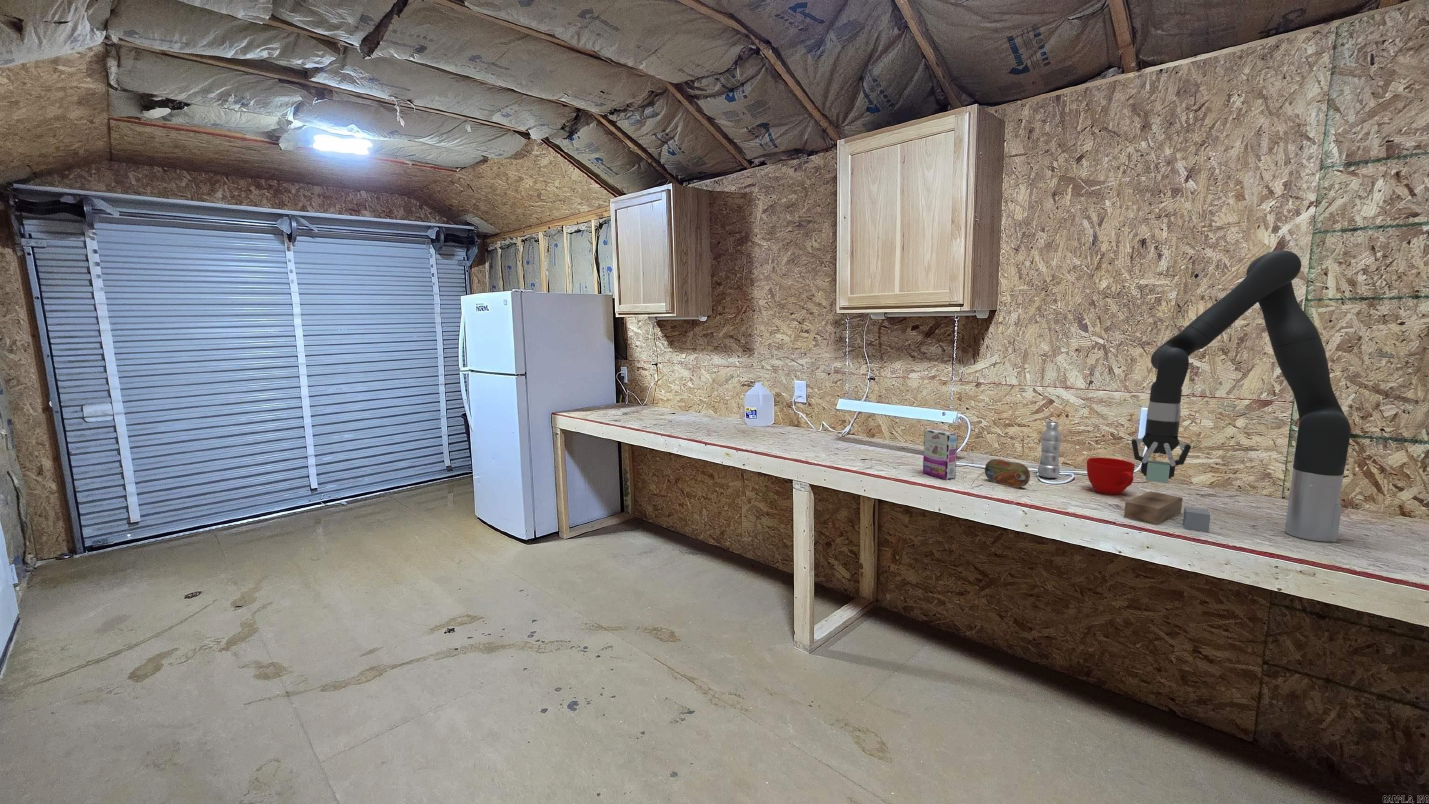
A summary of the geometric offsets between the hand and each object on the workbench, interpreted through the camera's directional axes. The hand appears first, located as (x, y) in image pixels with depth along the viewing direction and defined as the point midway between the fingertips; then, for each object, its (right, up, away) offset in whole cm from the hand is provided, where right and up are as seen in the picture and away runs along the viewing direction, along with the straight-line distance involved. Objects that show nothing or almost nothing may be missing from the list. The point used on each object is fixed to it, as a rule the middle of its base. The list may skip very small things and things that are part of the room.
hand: (1156, 476), depth 171 cm
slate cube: (+4, -13, -9) cm, 16 cm away
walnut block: (0, -12, +2) cm, 12 cm away
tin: (-27, -7, +33) cm, 43 cm away
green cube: (0, -1, 0) cm, 1 cm away
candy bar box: (-46, -6, +45) cm, 64 cm away
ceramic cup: (+2, -9, +23) cm, 24 cm away
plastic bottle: (-8, -6, +42) cm, 43 cm away
